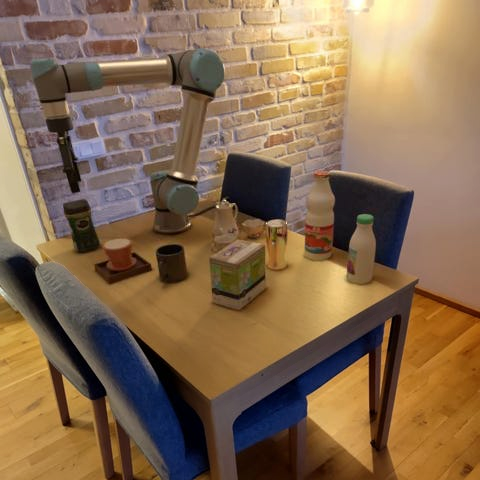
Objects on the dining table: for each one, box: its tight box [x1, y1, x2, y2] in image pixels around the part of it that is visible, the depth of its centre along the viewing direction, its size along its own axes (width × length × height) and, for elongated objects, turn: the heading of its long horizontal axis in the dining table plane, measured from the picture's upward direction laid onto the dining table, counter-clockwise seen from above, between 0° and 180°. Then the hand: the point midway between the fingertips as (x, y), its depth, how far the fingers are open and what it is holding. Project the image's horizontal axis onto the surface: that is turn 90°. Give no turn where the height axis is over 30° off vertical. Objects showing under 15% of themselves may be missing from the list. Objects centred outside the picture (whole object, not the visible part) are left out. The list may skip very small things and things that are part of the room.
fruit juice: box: [304, 170, 336, 261], centre depth 143 cm, size 9×9×28 cm
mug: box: [155, 243, 188, 284], centre depth 139 cm, size 12×9×10 cm
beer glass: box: [265, 219, 289, 271], centre depth 141 cm, size 7×7×15 cm
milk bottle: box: [346, 213, 377, 285], centre depth 129 cm, size 8×8×20 cm
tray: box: [93, 251, 153, 285], centre depth 149 cm, size 15×13×2 cm
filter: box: [102, 238, 137, 272], centre depth 147 cm, size 10×10×9 cm
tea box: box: [208, 238, 267, 311], centre depth 126 cm, size 15×10×15 cm, turn 148°
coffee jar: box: [62, 198, 101, 253], centre depth 163 cm, size 10×8×19 cm
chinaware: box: [210, 197, 266, 253], centre depth 161 cm, size 28×17×17 cm, turn 148°
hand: (76, 186), depth 144 cm, fingers open, 13 cm apart
